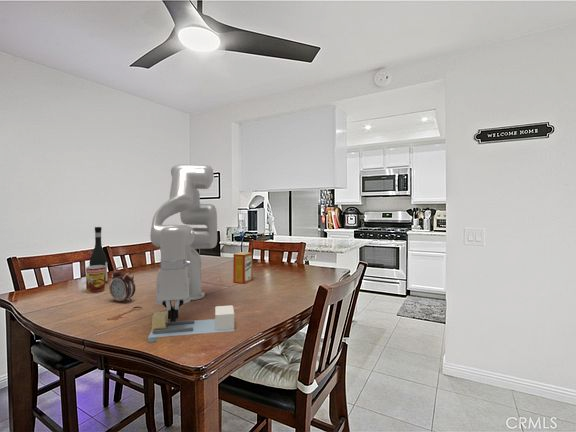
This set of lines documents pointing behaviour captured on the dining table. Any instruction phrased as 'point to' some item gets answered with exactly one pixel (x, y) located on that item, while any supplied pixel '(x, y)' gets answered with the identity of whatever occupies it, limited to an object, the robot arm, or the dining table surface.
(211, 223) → the robot arm
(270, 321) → the dining table surface
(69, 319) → the dining table surface
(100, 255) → the wine bottle
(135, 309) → the key
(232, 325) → the white rectangular block
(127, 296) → the alarm clock
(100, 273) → the canned food
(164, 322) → the block
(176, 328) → the plate
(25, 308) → the dining table surface
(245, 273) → the baking soda box
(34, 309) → the dining table surface
